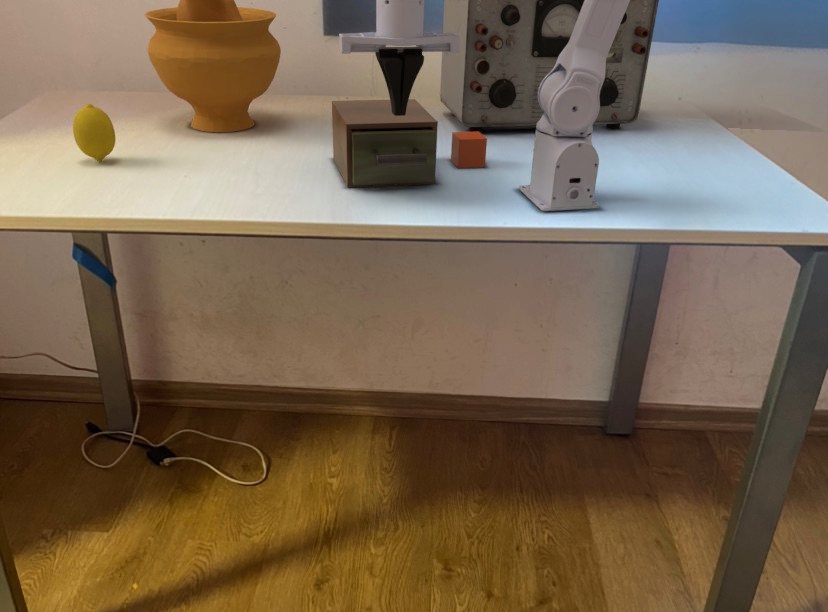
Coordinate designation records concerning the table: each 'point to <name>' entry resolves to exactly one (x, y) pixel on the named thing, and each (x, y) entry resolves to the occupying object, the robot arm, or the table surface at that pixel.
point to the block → (468, 149)
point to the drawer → (393, 155)
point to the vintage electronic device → (534, 59)
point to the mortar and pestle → (214, 59)
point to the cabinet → (371, 117)
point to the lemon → (94, 132)
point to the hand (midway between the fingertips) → (398, 113)
